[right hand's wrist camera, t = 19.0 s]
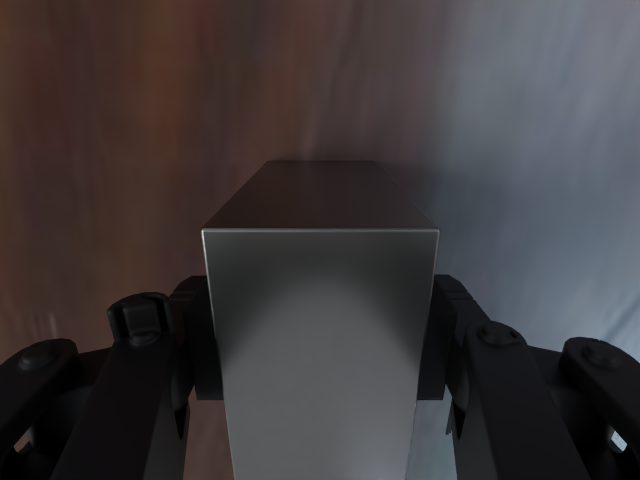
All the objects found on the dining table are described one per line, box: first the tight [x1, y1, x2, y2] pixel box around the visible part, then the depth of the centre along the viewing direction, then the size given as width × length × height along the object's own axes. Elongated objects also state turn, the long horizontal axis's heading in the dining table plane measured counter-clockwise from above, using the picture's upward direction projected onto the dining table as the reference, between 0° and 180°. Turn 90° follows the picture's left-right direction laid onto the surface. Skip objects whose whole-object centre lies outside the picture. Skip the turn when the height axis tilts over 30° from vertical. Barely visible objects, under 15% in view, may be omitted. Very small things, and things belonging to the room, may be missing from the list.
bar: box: [201, 161, 440, 480], centre depth 15 cm, size 27×5×9 cm, turn 0°
